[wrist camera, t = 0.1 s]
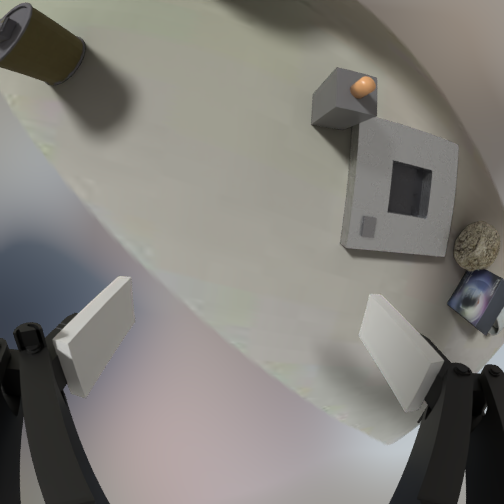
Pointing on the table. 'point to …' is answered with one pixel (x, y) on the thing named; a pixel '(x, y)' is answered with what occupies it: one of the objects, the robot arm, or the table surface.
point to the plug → (344, 100)
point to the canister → (38, 46)
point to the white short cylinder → (498, 324)
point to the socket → (399, 189)
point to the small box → (479, 298)
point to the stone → (477, 246)
